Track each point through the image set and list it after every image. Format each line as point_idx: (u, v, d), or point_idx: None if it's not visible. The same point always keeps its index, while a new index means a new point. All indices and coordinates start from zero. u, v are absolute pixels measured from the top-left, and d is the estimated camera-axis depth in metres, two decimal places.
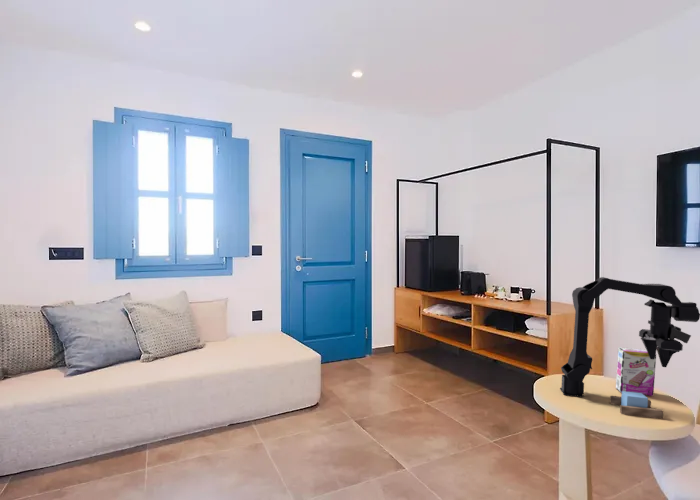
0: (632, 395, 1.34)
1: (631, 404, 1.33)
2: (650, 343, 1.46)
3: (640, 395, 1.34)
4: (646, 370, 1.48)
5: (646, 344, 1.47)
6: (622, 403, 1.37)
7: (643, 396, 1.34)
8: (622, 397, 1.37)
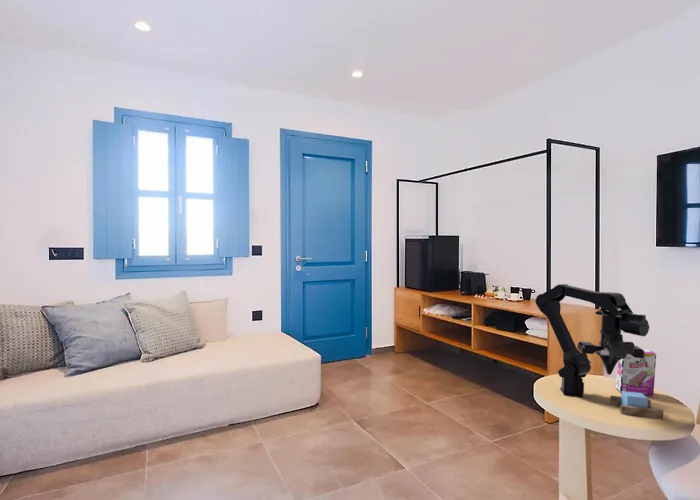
0: (632, 395, 1.34)
1: (631, 404, 1.33)
2: (610, 357, 1.37)
3: (640, 395, 1.34)
4: (646, 370, 1.48)
5: None
6: (622, 403, 1.37)
7: (643, 396, 1.34)
8: (622, 397, 1.37)
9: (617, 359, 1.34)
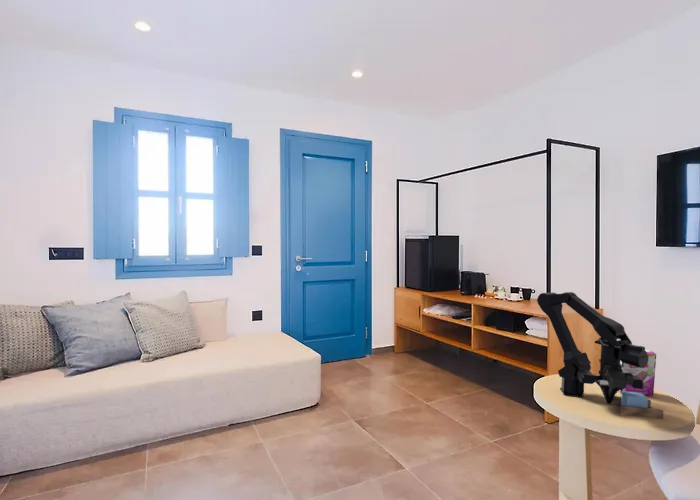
0: (632, 395, 1.34)
1: (631, 404, 1.33)
2: (610, 386, 1.37)
3: (640, 395, 1.34)
4: (646, 370, 1.48)
5: None
6: (622, 403, 1.37)
7: (643, 396, 1.34)
8: (622, 397, 1.37)
9: (616, 389, 1.34)
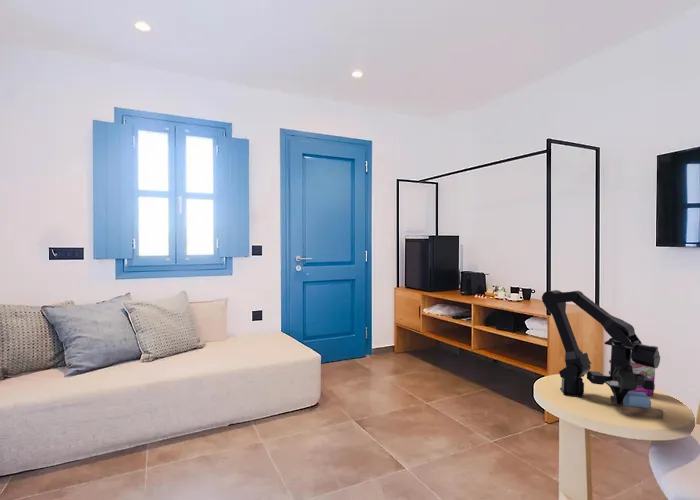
0: (634, 395, 1.34)
1: (633, 404, 1.33)
2: (620, 387, 1.37)
3: (642, 395, 1.34)
4: (646, 370, 1.48)
5: None
6: (624, 403, 1.37)
7: (645, 396, 1.33)
8: (624, 397, 1.37)
9: (627, 390, 1.34)
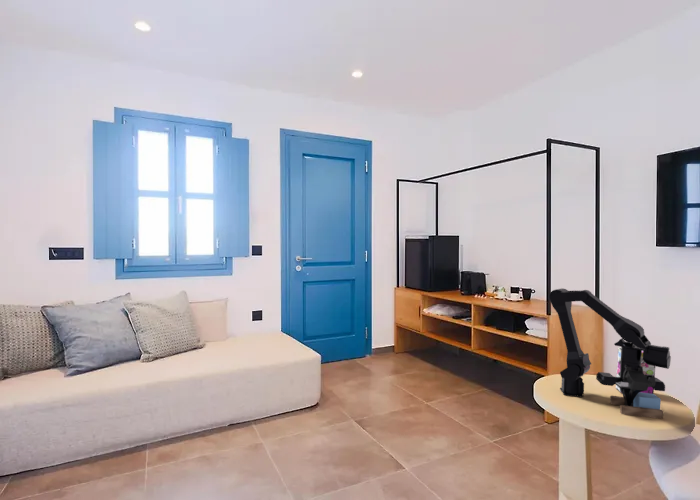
0: (644, 396, 1.33)
1: (644, 405, 1.33)
2: (629, 388, 1.36)
3: (653, 396, 1.34)
4: (646, 370, 1.48)
5: None
6: (634, 404, 1.37)
7: (656, 397, 1.33)
8: (634, 398, 1.36)
9: (637, 391, 1.33)
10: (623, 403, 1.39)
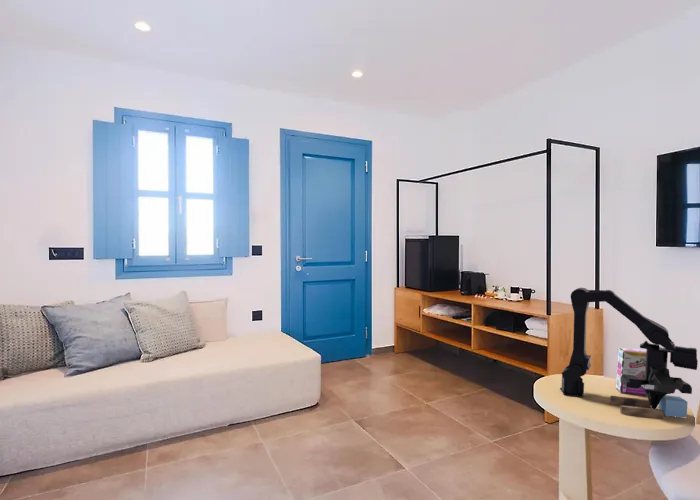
0: (671, 399, 1.31)
1: (670, 408, 1.31)
2: None
3: (679, 399, 1.32)
4: None
5: None
6: (659, 407, 1.35)
7: (682, 400, 1.31)
8: (660, 401, 1.35)
9: (663, 394, 1.31)
10: (623, 403, 1.39)
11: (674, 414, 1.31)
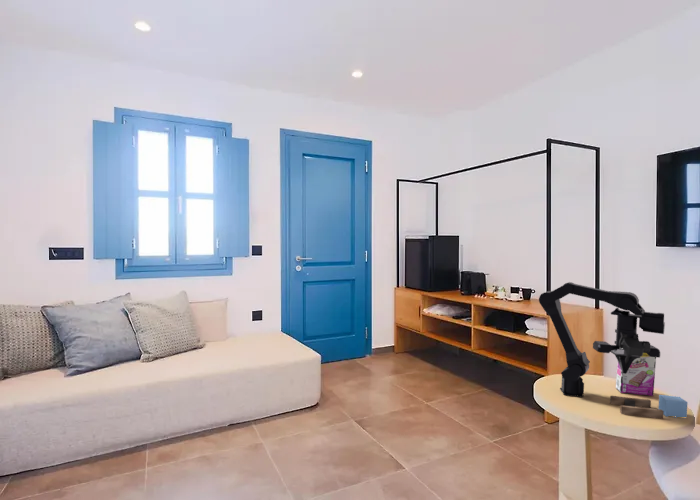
0: (671, 399, 1.31)
1: (670, 408, 1.31)
2: (626, 356, 1.38)
3: (679, 399, 1.32)
4: (646, 370, 1.48)
5: None
6: (659, 407, 1.35)
7: (682, 400, 1.31)
8: (660, 401, 1.35)
9: (633, 358, 1.35)
10: (623, 403, 1.39)
11: (674, 414, 1.31)
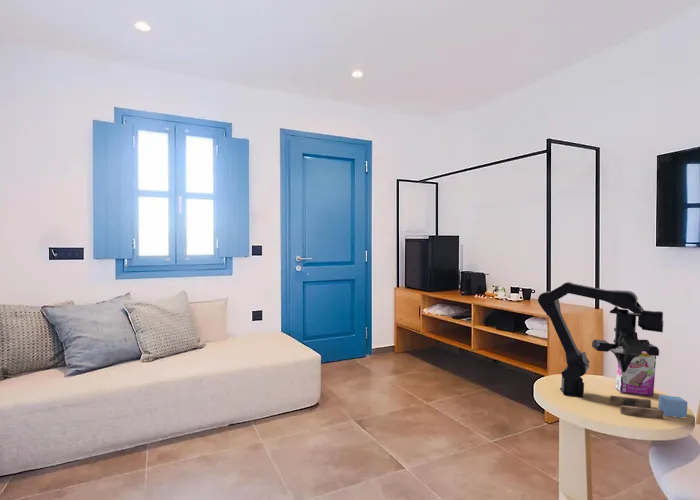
0: (671, 399, 1.31)
1: (670, 408, 1.31)
2: (625, 355, 1.39)
3: (679, 399, 1.32)
4: (646, 370, 1.48)
5: None
6: (659, 407, 1.35)
7: (682, 400, 1.31)
8: (660, 401, 1.35)
9: (632, 357, 1.36)
10: (623, 403, 1.39)
11: (674, 414, 1.31)
